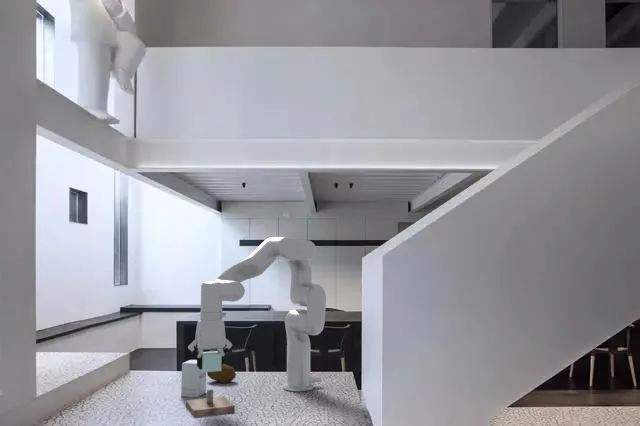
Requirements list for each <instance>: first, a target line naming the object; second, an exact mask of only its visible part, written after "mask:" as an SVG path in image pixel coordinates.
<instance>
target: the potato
mask: <svg viewBox="0 0 640 426" xmlns="http://www.w3.org/2000/svg"><path fill="white" fill-rule="evenodd" d="M236 374H237V373H236V370H235V369H234V368H233V366H229V365H227V364H226V363H223V365H222V368H221V371H214V372H206V376H207V377H208V378H210V379H211V380H213V381H215V382H218V383H224V384H225V383H230V382H233V381H234V379H235V378H236V377H237V375H236Z"/></svg>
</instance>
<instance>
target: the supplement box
mask: <svg viewBox="0 0 640 426" xmlns="http://www.w3.org/2000/svg"><path fill="white" fill-rule="evenodd" d="M180 386H181V387H180V388H181V389H180V390H181V391H180V396H181V397H186V398H187V397H190V398H200V397H201V396H202V395H204V394H207V389H206V388H207V372H202V371H201V370H200V369H199V368H198V367H197V359H189V360H186V361H185V362H182V363H181V385H180Z"/></svg>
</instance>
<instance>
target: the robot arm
mask: <svg viewBox="0 0 640 426" xmlns="http://www.w3.org/2000/svg"><path fill="white" fill-rule="evenodd" d="M316 254H317V248H316V244H315V243H314V242H313V241H311V240H308V239H303V238H302V239H301V238H294V237H288V236H272V237H268V238H266V239H265V240H264V241H262V242H261V244H260V245H258V246H257V248H256V249H254V250H253V252H251V253H250V254H249V255H248V256H247V257H246V258H245V259H242V260H240V261H239V262H237V263H236V264H233V265H232V266H230V267H229V268H227V269H226V270H224V271H223V272H222V273H221V274H220V275H219V276H218V277H217V278H216V279H215V280H214V281H204V282H202V284H201V285H200V314H199V315H200V318H199V319H200V320H197V323H196V329H195V330H196V331H195V338H194V340H193V341H192V342H191V343H190V344H189V345H188V347H187V348H188V350H190V351H191V353H192V354H194V355H195V357H196V360H197V367H198V368H199V369H202V358H201V355H202V353H203V352H205V351H208V350H217V351H218V352H219V353H221V354H222V357H221V368H222V365H223V364H224V357H225V355H226V354H227V353H228V351H229V350H230V349H231V348H232V346H233V344H232V342H231V341H230V340H229V339H227V338H226V326H225V321H224V319H223V318H224V317H227V314H226V312H223V302H224V301H225V302H231V303H232V302H238V301H240V300H241V299H242V298H243V297H244V295H245V293H246V291H245V286H244V285H243V284H242V282H244V281H247V280H251V279H254V278H257V277H259V276H261V275H263V273H265V271H266V270H267V269H268V268H269V267H271V265H272V264H274V262H275V261H277V260H278V259H281V260H282V259H283V260H285V262H287V265H289V269H290V276H291V278H290V289H289V290H290V292H289V298H290V301H291V303H292V304H293V306H294V305H295V306H298V307H305V308H306V309H300V308H296V309H295V308H294V309H292V310H290V311H288V312H287V314H286V315H285V317H284V327H285V332H286V344H287V345H286V382H285V383H284V384H283V385H282V388H283V390H285V391H289V392H306V391H312V390H313V389H314V388H315V385H314V384H315V383H321V382H322V377H321V376H312V375H311V340H310V337H309V335H310V336H318V335H320V334H321V332H323V330H324V326H325V321H326V309H327V308H326V306H327V294H326V291H325V289H324V287H323V286H322V285H320V284H318V283H313V282H312V279H313V278H312V277H313V273H312V272H313V271H312V267H311V264H310V261H312V260H313V259H314V258H315V257H316ZM194 347H195V348H196V349H197V350H196V349H195V348H194ZM204 350H205V351H204Z"/></svg>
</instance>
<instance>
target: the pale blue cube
mask: <svg viewBox="0 0 640 426" xmlns="http://www.w3.org/2000/svg"><path fill="white" fill-rule="evenodd" d="M221 357H222V354H221V353H219V352H218V350H217V351H215V350H214V351H203V353H202V355H201V358H202V369H200V370H201V371H202V372H206V373H207V372H214V371H221Z"/></svg>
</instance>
